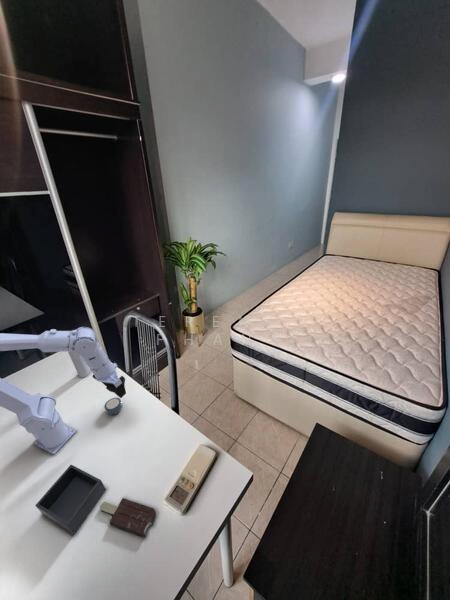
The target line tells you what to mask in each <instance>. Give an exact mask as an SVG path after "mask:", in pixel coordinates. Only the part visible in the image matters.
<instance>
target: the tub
mask: <svg viewBox="0 0 450 600" xmlns="http://www.w3.org/2000/svg"><path fill="white" fill-rule="evenodd" d="M106 490H107V488H106V487H105V485H104V484H103V481H102V479H100V478H98V477H96V476H94V475H92V474H91V473H88V471H87V472H86V471H84V470H82V469H80V468H78V467H77V466H74V465H73V464H70V465H69V466H68V467H67V468H66V470H64V472H63V473H62V474H61V475H60V476H59V477H58V478H57V479H56V481H55V482H54V483H53V484H52V485H51V487H50V488H49V489H48V490H47V491H46V492H45V494H44V495H43V496H42V497H41V498H40V499H39V500H38V502H36V504H35V505H34V506H35V507H36V509H37V510H38V511H39V512H40V513H41V514H42V515H43V516H44V517H46V518H47V519H49V520H50V521H52V522H54V523H55V524H57V525H58V526H59V527H61V528H63V529H64V530H65V531H67V532H69V533H70V534H72V535H73V536H75V535H76V533H77V532H78V530H79V529H80V528H81V526H82V525H83V523H84V522H85V520H86V519H87V517H88V516H89V515H90V513H91V512H92V510H93V509H94V508H95V506H96V505H97V503H98V501H100V499H101V497H102V496H103V495H104V493H105V492H106Z"/></svg>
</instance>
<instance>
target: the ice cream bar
mask: <svg viewBox="0 0 450 600" xmlns="http://www.w3.org/2000/svg"><path fill="white" fill-rule="evenodd" d="M99 510H100V511H101V512H104V513H107V514H109V515H112V516H111V518H110V520H109V524H110V525H111V526H112V527H113V526H114V527H116V528H118V529H120V530H124V531H126V532H129V533H132V534H135V535H138V536H140V537H143V538H144V537H146V534H147V530H148V529H149V527H150V526H153V525H154V523H155V520H156V517H157V512H156V510H155V508H154V507H152V506H148V505H146V504H143V503H139V502H136V501H134V500H130V499H127V498H125V497H121V500H120V502H119V504H118V505H115V504H112V503H110V502H106V501H104V502H102V503H101V504H100V505H99Z"/></svg>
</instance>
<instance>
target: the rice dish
mask: <svg viewBox="0 0 450 600" xmlns="http://www.w3.org/2000/svg"><path fill="white" fill-rule="evenodd" d="M122 408H123V402H122V400H121V398H120V397H112V398H110V399H108V400H107V401H106V402H105V403H104V410H105V413H106V414H107V415H111V416H112V415H116V414H118V413H119V412H120V411H121V410H122Z"/></svg>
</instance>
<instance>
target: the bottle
mask: <svg viewBox="0 0 450 600" xmlns="http://www.w3.org/2000/svg"><path fill="white" fill-rule="evenodd" d="M67 353H68V355H69V357H70V359H71V362H72V364H73V366H74V368H75V370H76V373H77V375H78V377H79V378H85V377H87V376H89V375H90V373H91V370H90V368H89V367H88V365H87V364H86V363H85V361H84V360H83V358H82V356H81V355H77V354H75V353H74V352H73V351H67Z"/></svg>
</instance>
